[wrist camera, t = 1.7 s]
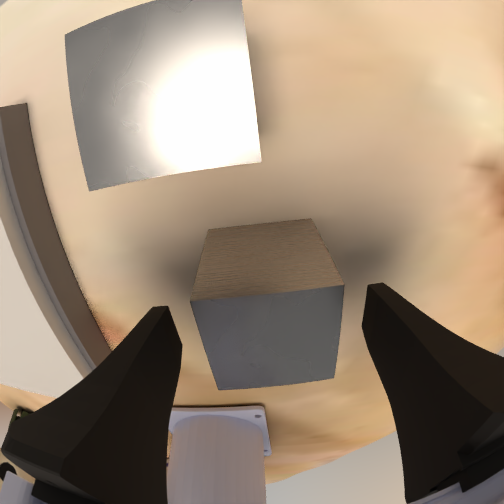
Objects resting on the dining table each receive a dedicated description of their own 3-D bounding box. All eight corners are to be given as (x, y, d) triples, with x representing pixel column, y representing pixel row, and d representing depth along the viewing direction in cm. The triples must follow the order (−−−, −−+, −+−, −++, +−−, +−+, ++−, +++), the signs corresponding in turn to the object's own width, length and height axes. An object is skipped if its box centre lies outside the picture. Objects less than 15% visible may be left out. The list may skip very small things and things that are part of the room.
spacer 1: (255, 138, 11) (261, 162, 6) (147, 155, 11) (89, 191, 7) (242, 32, 9) (239, -16, 4) (131, 55, 9) (64, 34, 5)
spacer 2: (312, 299, 15) (334, 378, 10) (224, 309, 15) (218, 390, 10) (310, 218, 12) (344, 284, 8) (208, 229, 13) (189, 301, 8)
